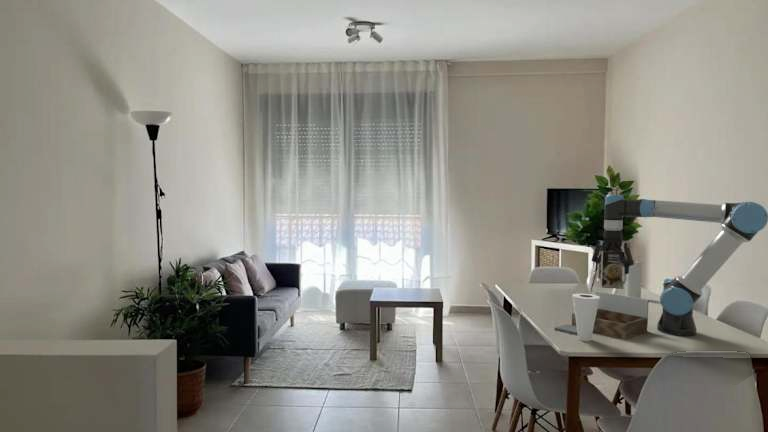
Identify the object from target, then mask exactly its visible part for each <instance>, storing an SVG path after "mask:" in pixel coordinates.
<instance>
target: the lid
mask: <svg viewBox="0 0 768 432" xmlns="http://www.w3.org/2000/svg"><path fill="white" fill-rule="evenodd" d="M595 295H597V296H599V297H600V300H599V305H598V309H603V310H608V311H613V312H618V313H624V314H629V315H634V316H639V317H644V318H648V319H649V299H647V298H642V297H641V298H635V297H629V296H625V295H622V294H617V293H609V292H603V291H598V290H596V291H595Z"/></svg>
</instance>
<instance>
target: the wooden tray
mask: <svg viewBox="0 0 768 432" xmlns="http://www.w3.org/2000/svg"><path fill="white" fill-rule="evenodd" d="M648 320H649V317H648V318H644V317H639V316H634V315H629V314H624V313H618V312H613V311H608V310H603V309H598V310H597V314H596V318H595V323H594V326H593V327H594V328H593V332H592V333H596V334H600V335H604V336H605V335H606V336H609V337H613V338H618V339H623V340H626V339H629V338H632V337H634V336H637V335H640V334H644V333H646V332H648V325H649V322H648ZM571 325H573V326H577V324H576V318H575V312H574V313H572V314H571Z"/></svg>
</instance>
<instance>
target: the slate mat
mask: <svg viewBox="0 0 768 432" xmlns="http://www.w3.org/2000/svg"><path fill="white" fill-rule="evenodd" d="M554 331H557V332H558V331H559V332H563V333H567V334H570V335H576V336H577V335H578V333H577V326H573V325H572V324H570V323H567V324H563V325H559V326H556V327H554Z"/></svg>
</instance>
